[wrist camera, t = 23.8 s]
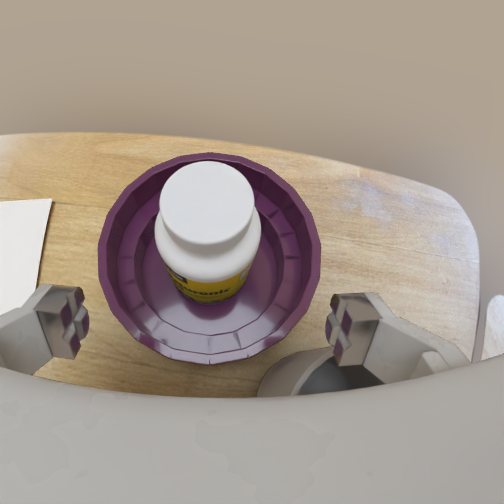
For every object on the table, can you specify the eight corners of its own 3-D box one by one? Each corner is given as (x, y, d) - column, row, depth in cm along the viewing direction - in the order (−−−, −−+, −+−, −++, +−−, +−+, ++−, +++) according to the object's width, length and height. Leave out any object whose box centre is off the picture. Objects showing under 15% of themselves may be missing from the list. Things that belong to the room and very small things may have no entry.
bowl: (332, 269, 23) (360, 245, 19) (212, 402, 19) (211, 414, 14) (210, 164, 25) (211, 123, 21) (88, 269, 21) (60, 245, 16)
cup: (305, 330, 21) (361, 307, 13) (390, 415, 19) (469, 427, 11) (231, 401, 19) (244, 428, 11) (327, 484, 17) (384, 533, 9)
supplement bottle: (157, 286, 21) (118, 226, 12) (191, 222, 23) (181, 132, 14) (229, 319, 20) (241, 281, 11) (258, 251, 22) (289, 173, 13)
